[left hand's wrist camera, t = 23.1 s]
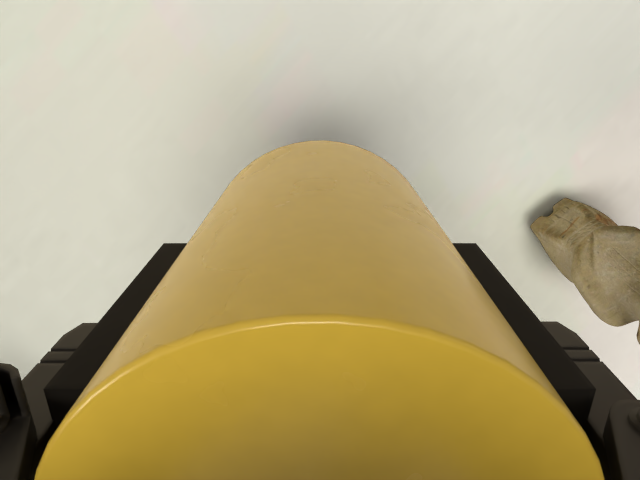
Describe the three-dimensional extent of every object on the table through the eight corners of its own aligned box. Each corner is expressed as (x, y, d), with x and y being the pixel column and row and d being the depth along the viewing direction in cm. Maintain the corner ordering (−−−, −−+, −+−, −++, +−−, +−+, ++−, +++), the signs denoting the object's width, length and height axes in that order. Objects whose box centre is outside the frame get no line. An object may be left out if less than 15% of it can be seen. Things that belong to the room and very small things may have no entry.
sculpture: (556, 284, 38) (692, 416, 24) (508, 224, 36) (626, 331, 22) (620, 240, 37) (803, 355, 23) (573, 175, 35) (743, 257, 21)
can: (349, 373, 19) (385, 761, 8) (173, 279, 17) (-49, 618, 7) (474, 218, 16) (744, 502, 6) (281, 92, 15) (190, 178, 4)
